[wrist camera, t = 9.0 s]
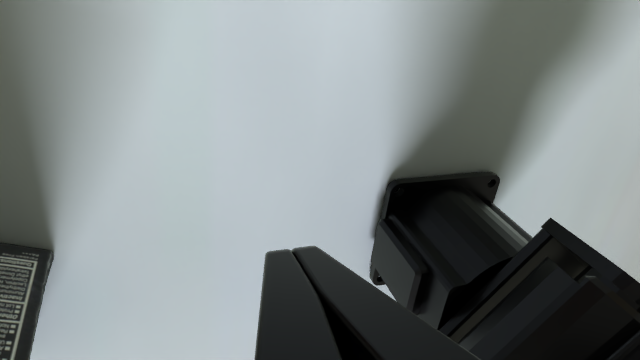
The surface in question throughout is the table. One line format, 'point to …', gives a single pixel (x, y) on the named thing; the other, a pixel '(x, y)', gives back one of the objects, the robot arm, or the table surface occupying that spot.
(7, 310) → the small box
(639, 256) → the table surface
